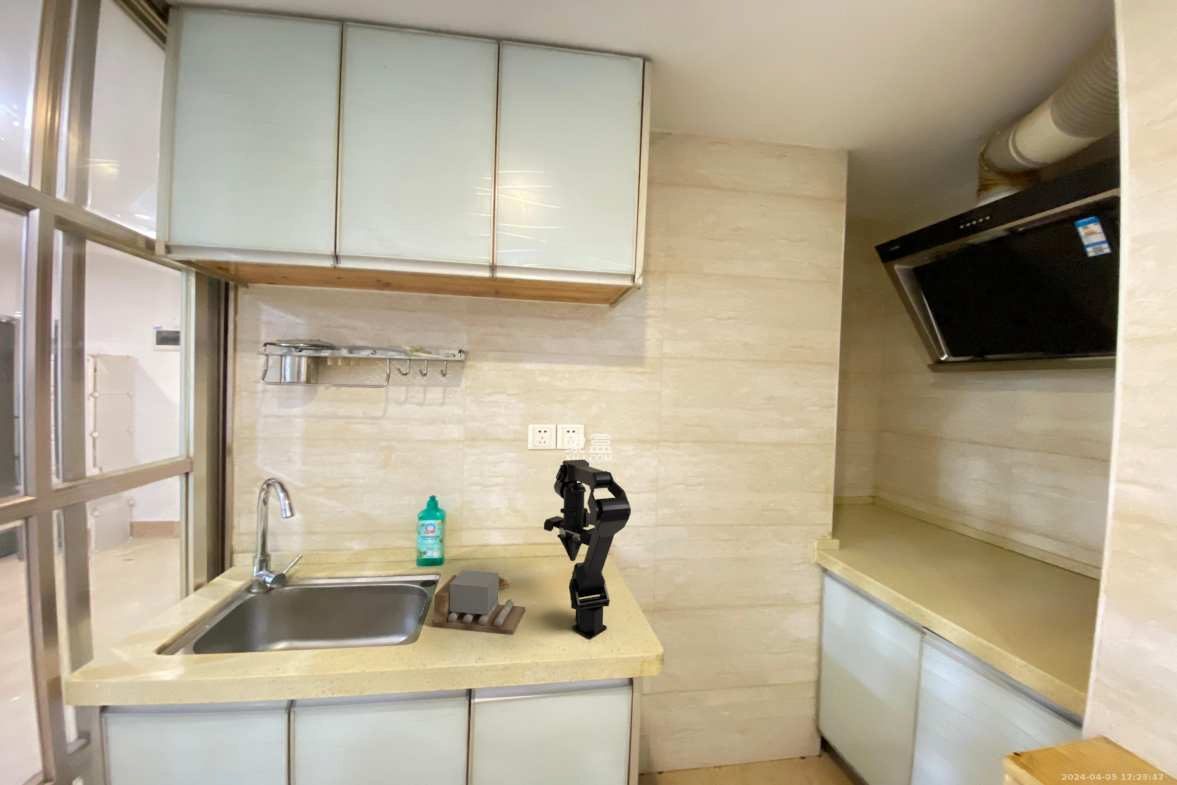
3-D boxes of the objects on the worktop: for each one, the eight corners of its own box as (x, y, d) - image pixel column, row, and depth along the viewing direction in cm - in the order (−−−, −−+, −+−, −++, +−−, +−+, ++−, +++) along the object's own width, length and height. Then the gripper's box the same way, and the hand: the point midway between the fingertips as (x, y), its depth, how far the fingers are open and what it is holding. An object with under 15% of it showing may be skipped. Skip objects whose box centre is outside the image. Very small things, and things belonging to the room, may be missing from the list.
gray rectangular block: (498, 598, 117) (498, 573, 117) (487, 614, 109) (488, 587, 109) (462, 595, 119) (462, 570, 118) (449, 611, 111) (449, 583, 110)
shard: (480, 601, 124) (480, 595, 124) (464, 592, 129) (465, 586, 129) (510, 588, 132) (510, 582, 132) (495, 579, 137) (495, 574, 137)
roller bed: (525, 611, 118) (525, 581, 118) (512, 634, 107) (513, 601, 107) (450, 604, 121) (451, 574, 120) (431, 626, 110) (431, 594, 110)
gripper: (618, 506, 121) (617, 562, 122) (570, 493, 134) (569, 543, 135) (591, 515, 113) (590, 574, 114) (543, 500, 126) (542, 554, 126)
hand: (572, 560), depth 122 cm, fingers closed
